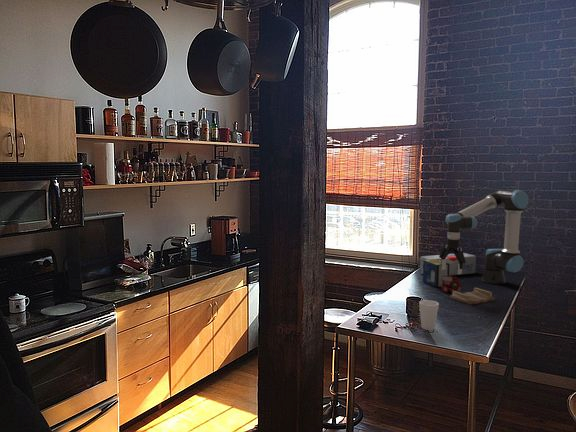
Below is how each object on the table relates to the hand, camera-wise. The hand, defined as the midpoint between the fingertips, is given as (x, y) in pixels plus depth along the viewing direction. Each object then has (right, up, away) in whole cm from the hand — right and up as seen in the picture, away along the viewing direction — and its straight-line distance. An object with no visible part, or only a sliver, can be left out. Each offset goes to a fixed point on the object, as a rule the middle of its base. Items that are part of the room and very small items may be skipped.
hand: (451, 271), depth 308 cm
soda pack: (+15, -8, +52) cm, 55 cm away
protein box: (-3, -11, +22) cm, 25 cm away
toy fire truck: (0, -14, +2) cm, 14 cm away
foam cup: (-33, -21, -64) cm, 75 cm away
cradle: (+8, -15, -13) cm, 22 cm away
